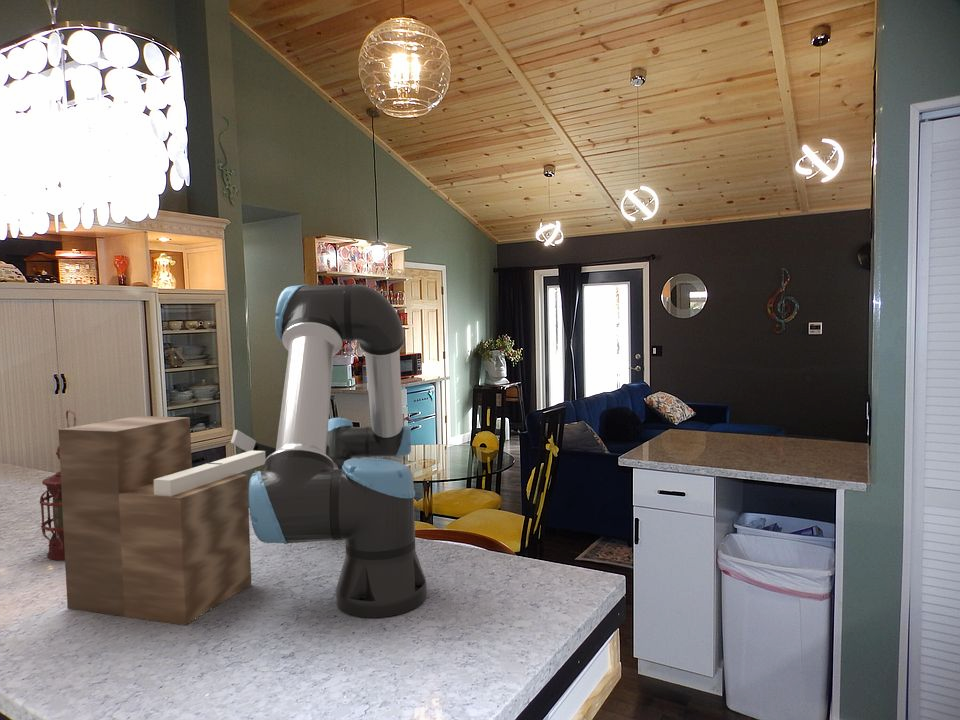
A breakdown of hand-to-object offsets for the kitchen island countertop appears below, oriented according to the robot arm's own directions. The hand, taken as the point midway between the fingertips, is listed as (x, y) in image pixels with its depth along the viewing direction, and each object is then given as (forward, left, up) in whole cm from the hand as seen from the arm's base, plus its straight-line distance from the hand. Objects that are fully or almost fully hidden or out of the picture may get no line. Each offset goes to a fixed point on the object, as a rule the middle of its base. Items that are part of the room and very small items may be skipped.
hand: (263, 437), depth 122 cm
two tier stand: (-8, +19, -25) cm, 32 cm away
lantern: (+27, +34, -25) cm, 50 cm away
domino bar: (-10, +10, -5) cm, 15 cm away
